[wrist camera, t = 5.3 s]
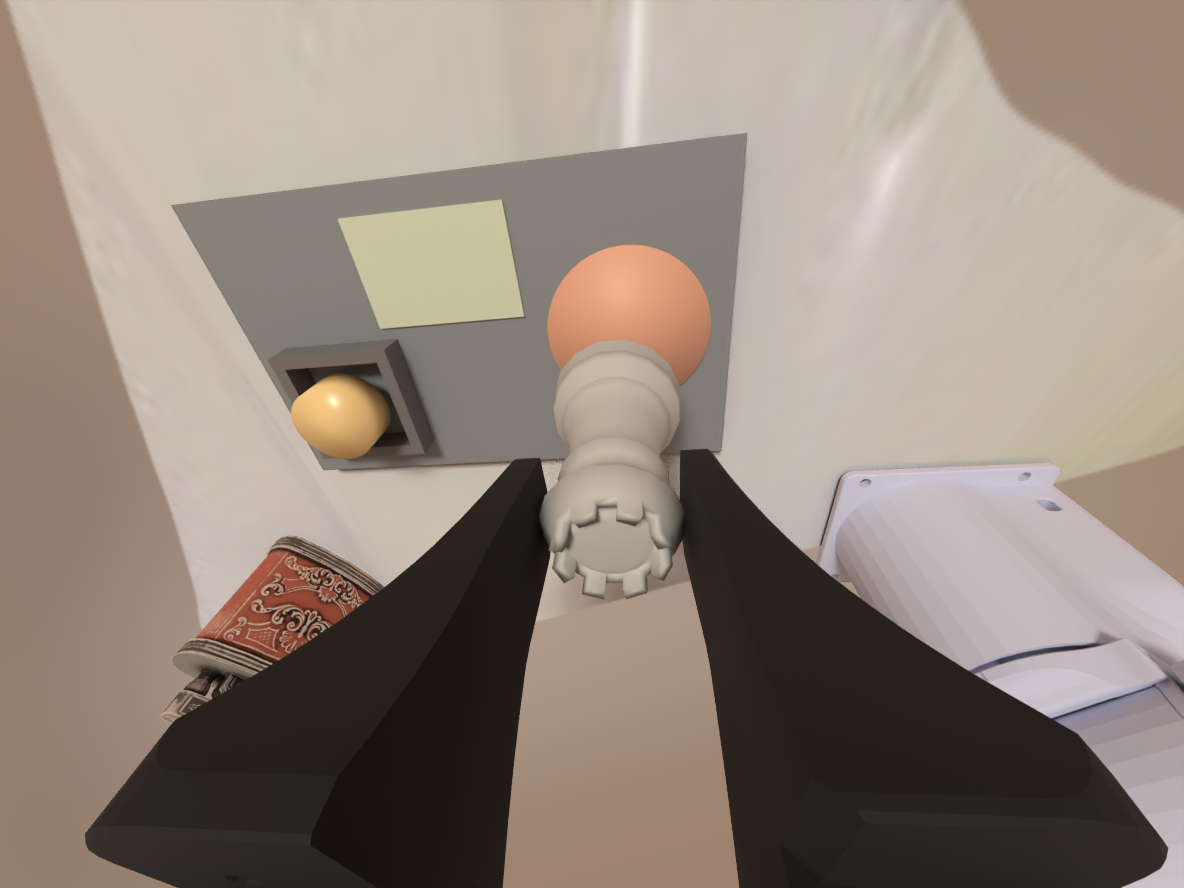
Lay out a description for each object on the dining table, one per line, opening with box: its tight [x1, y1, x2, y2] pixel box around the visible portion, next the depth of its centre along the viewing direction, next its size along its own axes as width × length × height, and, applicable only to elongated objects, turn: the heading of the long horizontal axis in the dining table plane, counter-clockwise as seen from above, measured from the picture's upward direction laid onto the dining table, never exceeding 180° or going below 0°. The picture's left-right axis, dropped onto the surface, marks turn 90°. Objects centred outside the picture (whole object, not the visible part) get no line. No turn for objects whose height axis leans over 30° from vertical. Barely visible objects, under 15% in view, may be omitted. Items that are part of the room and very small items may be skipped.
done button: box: [291, 373, 391, 459], centre depth 18 cm, size 3×3×2 cm
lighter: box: [160, 536, 384, 723], centre depth 24 cm, size 8×3×10 cm, turn 41°
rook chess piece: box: [539, 339, 686, 599], centre depth 12 cm, size 4×4×8 cm
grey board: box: [171, 133, 747, 470], centre depth 17 cm, size 20×12×2 cm, turn 96°
